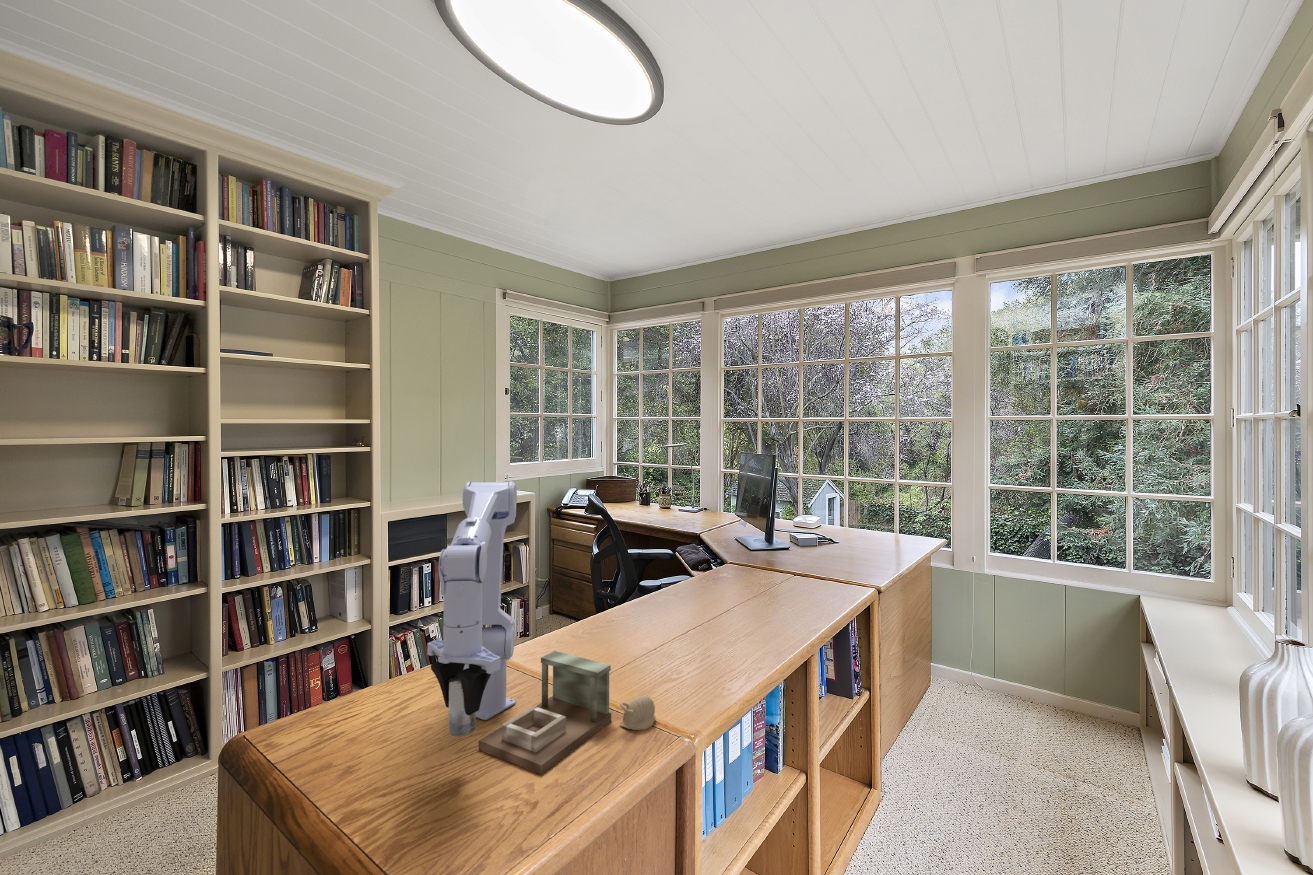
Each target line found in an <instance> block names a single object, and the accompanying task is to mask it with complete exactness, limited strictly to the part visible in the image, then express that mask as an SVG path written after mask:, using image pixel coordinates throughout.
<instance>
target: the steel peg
mask: <svg viewBox="0 0 1313 875" xmlns="http://www.w3.org/2000/svg"><path fill="white" fill-rule="evenodd" d="M476 719H477V717H476V712H475V713H473V714H471V715H466V713H465V708H464V693H463V688H462V684H461V682H460V679H459V677H458V674H456V675H454V676H452V677H451V678H450V679H449V708H448V733H449V735H451V736H452V737H464V736H467V735H469V734H471V733H473V732H474V731H475V730H476V726H477V725H476V724H477V722H476Z"/></svg>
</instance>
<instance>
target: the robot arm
mask: <svg viewBox="0 0 1313 875" xmlns="http://www.w3.org/2000/svg"><path fill="white" fill-rule="evenodd" d="M517 489H518V488H517V484H516V483H515V481H512V480H510V481H507V482H506V481H503V482H501V481H493V482H491V481H490V482H489V481H488V482H487V481H486V482H485V481H484V482H483V481H482V482H481V481H478V482H477V481H475V482H472V481H467V482H466V484H464V486H463V489H462V506H463V510H464V513H465V515H466V518H465V519H463V520H462V521H460V522H459V524H458V526H457V528H456V531H455V532H454V535H453V537H452V538H453V539H452V541H451V543H450V545H447V547H446V548H442V550H441V551H440V554H439V557H438V558H439V559H438V577H439V581H440V582H439V583H440V594H441V595H442V596H443V626H442V627H443V628H442V630H443V634H442V635H443V639H442V640H441V639H435V640H432V641H430V642H427V647H426V648H427V655H428V656H430V657H431V656H437V661H434V662H433V663H431V664H430V670H431V671H432V673H433V674H434V675H435V677H436V679H437V682H438V683H439V686H440V689H441V693H442V697H443V701H444V704H445V707H446V708H447V709H449V679H450V678H451V677H452V676H454V675H456V674H458V677H459V679H460V682H461V684H462V688H463V693H464V708H465V713H466V715H471V714H473V713H475V712H476V719H480V720H483V721H487V720H489V719H491V718H493V717H495V716H496V715H498V714H500V713H501V712H504V711H506V710H507V709H508V708H510V707H512V706H514V705H515V704H516V703H517V700H516V699H515V700H514V699H511V698H509V697H507V660H508V661H509V660H510V659H511V658H512V657H513V655H514V650H515V622H514V619H513V617H512V616H511V615H510V614H508V613H507V612H505V610H503V609H502V607H501V605H502V604H501V602H502V583H503V582H502V579H503V561H504V557H503V556H504V539H505V534H506V531H507V530H506V529H507V526H508V527H509V526H510V525H512V524H514V523H515V519H516V517H517V497H518V495H517V493H518V491H517ZM491 625H500V626H491ZM485 626H487V627H485ZM488 626H489V627H488Z"/></svg>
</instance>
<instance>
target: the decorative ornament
mask: <svg viewBox="0 0 1313 875" xmlns="http://www.w3.org/2000/svg"><path fill="white" fill-rule="evenodd" d="M619 706H620V708H621V709H622V710H623V711H624V712H623V714H622V715H623V716H622V721H621V722H620V724H619V727H622V728H626V729H629V730H633V731H635V730H636V731H641V730H643V731H644V730H647V729H649V728H651V727H652V726H653V723H655V720H656V717H657V716H656V715H655V709H656V707H655V703H654V700H653V699H652V697H650V696H649V695H648V694H644V695H640V696H637V697H635V698H633V699H632V700H631V701H630V702H629V703H628V702H626V701H621V702H620V703H619Z"/></svg>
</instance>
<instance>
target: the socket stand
mask: <svg viewBox="0 0 1313 875" xmlns="http://www.w3.org/2000/svg"><path fill="white" fill-rule="evenodd" d="M540 663H541V702H540V703H538V704H537V705H535V706H534V705H533V706H531V707H529V708H527V709H526V710H524V711H523V712H521V713H519V714H518V715H516V716H514V717H513V718H511V719H509V720H507V721H506V722H504V723H503V724H501V725H502V726H500V727H498V728H497V729H495V730H494V731H492V732H490V733H489V734H487V735H485V736H483V737H482V738H481V739H479V740H478V750H480V751H482V752H484V753H487V754H489V755H491V756H495V757H497V758H499V759H500V760H501V759H502V760H504V761H506V762H509V763H512V764H514V765H516V766H519V767H521V768H524V769H525V770H529V771H531V772H533V773H536V774H538V775H541V776H542V775H543V774H544V773H545V774H546V772H547V771H549V770H550V769H551V768H552V767H553V766H555V765H556V764H558V763H559V762H560V761H561V760H563V759H564V758H565V757H568V755H569V754H570V753H572V752H573V751H575V750H576V749H577V748H578V747H580V746H581V745H583V744H584V743H585V742H586V741H587V740H589V739H590V738H591V737H592V736H594V735H595V734H597V733H598V732H600V731H601V729H603V728H605V727H606V726H607V725H609V724H610V723H611V722H612V712H610V672H611V667H612V666H611V664H608V663H604V662H600V661H595V660H592V659H590V658H589V659H588V658H584V657H581V656H576V655H573V654H568V653H565V652H561V651H558V650H557V651H556V650H553V651H552V652H550V653H547V654H545V655H543V656H541V657H540ZM549 666H551V667H552V696H550V697H549Z"/></svg>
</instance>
